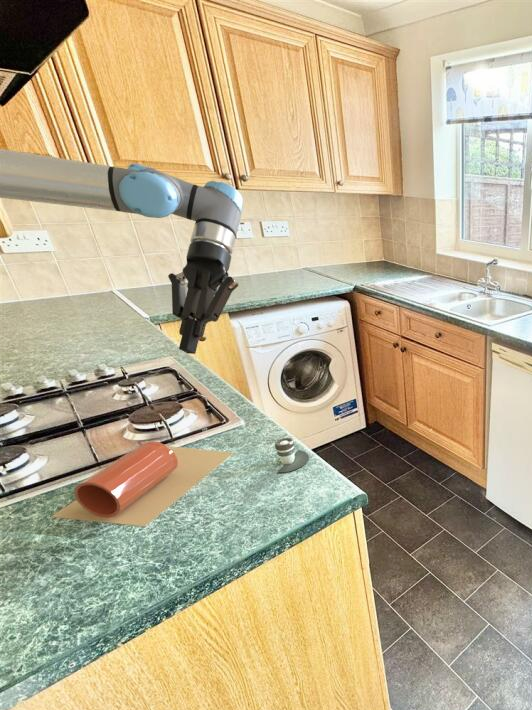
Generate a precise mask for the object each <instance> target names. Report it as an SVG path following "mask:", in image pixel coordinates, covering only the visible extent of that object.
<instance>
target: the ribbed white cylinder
mask: <svg viewBox="0 0 532 710" xmlns="http://www.w3.org/2000/svg"><path fill="white" fill-rule="evenodd" d="M274 449H275V450H276V453H277V455H278V457H279V458H278V459H279V460H280V462H281V464H283V465H282V467H281V468H280V469H278V470H277V472H276V473H278V474H285V473H290V472H294V471H296V470H299V469H300V468H302V467H303V466H305V465H306V464H307V463H308V462H309V459H310V455H309V454H308V453H307V452H306V451H304V450H300V449H298V450H297V451H295V442H294V440H293V439H292V438H291V437H283V438H280V439H278V440H276V441H275V443H274Z"/></svg>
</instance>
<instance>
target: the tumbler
mask: <svg viewBox="0 0 532 710" xmlns="http://www.w3.org/2000/svg"><path fill="white" fill-rule="evenodd" d="M167 446H168V445H166V444H164V443H162V442H159V441H154V440H150V441H145V442H143V443H141V444H139V445H138V446H136V447H134V448H132V449H131V450H130V451H128V452H126V453H125V454H124V455H122V456H121V457H119V458H117V459H116V460H114V461H113V462H111V463H110V464H108V465H106V466H105V467H103V468H102V469H100V470H98V471H97V472H95V473H94V474H92V475H91V476H89V477H87V478H86V479H84V480H83V481H81V482H80V483H78V484H77V485H76V487H75V488H74V497H75V500H77V501H78V503H79V504H80V505H81V506H82V507H83V508H84V509H86V510H87V511H89V512H90V513H92V514H95V515H97V516H100V517H113V516H116V515H117V514H119V513H120V512H121V511H122V510H124V509H125V508H126V507H128V506H129V505H130V504H132V503H133V502H134V501H135V500H137V499H138V498H139V497H141V496H142V495H143V494H145V493H146V492H147V491H149V490H150V489H151V488H152V487H154V486H155V485H156V484H158V483H159V482H160V481H162V480H163V479H164V478H165V477H167V476H168V475H169V474H171V473H172V472H173V471H174V470H175V469H176V468H177V466H178V460H177V457H176V455H175V454H174V452H173V451H172V450H171V449H170V448H169V447H167Z"/></svg>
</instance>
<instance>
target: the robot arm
mask: <svg viewBox="0 0 532 710" xmlns="http://www.w3.org/2000/svg"><path fill="white" fill-rule="evenodd" d="M0 199H9V200H16V201H24V202H25V201H26V202H32V203H33V202H35V203H42V204H43V203H44V204H51V205H59V206H60V205H61V206H69V207H78V208H85V209H94V210H95V209H96V210H102V211H103V210H104V211H112V212H121V213H127V214H134V215H135V214H136V215H140V216H143V217H146V218H153V219H163V218H166V217H169V216H170V215H174V216H177V217H180V218H184V219H186V220H190V221H193V222H195V223H194V225H193V229H192V233H191V237H190V243H189V245H188V248H187V254H186V264H185V266H184V267H183V268H182V272H179V273H177V274H175V273H174V272H172V273H169V274H168V275H167V277H168V280H169V281H170V283H171V308H172V312H171V313H172V315H173V316H175V317H176V318H178V319H179V320H181V321H180V327H179V331H178V333H179V335H180V336H181V337H180V338H181V339H180V342H179V346H178V350H180V351H182V352H184V353H186V354H188V355H191V354H192V355H194V354H195V355H196V352H197V348H198V344H199V340H200V338H203V337H204V334H205V331H206V326H207V324H209V323H210V322H213V323H215V322H217V321H218V320H219V318H220V316H221V314H222V312H223V310H224V309H225V307H226V305H227V303H228V301H229V298H230V297H231V295H232V293H233V292H234V290H236V289H237V288H238V287H239V285H240V284H239V282H238V281H236V279H234V278H233V277H232V276H229V275H230V274H229V273H228V272H229V270H230V265H231V261H232V255H233V252H234V248H235V243H236V237H237V234H238V229H239V225H240V221H241V218H242V211H243V205H244V204H243V203H244V200H243V196H242V194H241V193H240V192H239V191H238V190H237V189H236V188H235V187H234V186H232V185H231V184H228V183H227V182H224V181H216V180H210V181H206V183H205V184H204V186H202V185H197V184H195V183H191V182H189V181H186V180H183V179H180V178H179V177H175V176H173V175H170V174H169V173H168V174H167V173H165V172H162V171H159V170H157V169H156V168H153V167H150V166H146V165H142V164H139V163H136V162H133V163H130V164H129V165H128V167H127V168H123V167H118V166H110V165H107V164H106V165H105V164H99V163H93V162H88V161H87V162H86V161H79V160H73V159H67V158H60V157H54V156H48V155H42V154H35V153H30V152H23V151H17V150H11V149H4V148H0ZM186 281H187V282H186ZM186 288H187V292H186Z"/></svg>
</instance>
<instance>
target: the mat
mask: <svg viewBox="0 0 532 710" xmlns="http://www.w3.org/2000/svg"><path fill="white" fill-rule="evenodd" d="M166 446H167V447H169V448H170V449H171V450H172V451H173V452H174V454H175V455H176V457H177V460H178V466H177V468H176V469H175V470H174V471H173V472H172V473H171V474H169V475H168V476H167V477H165V478H164V479H163V480H162V481H160V482H159V483H158V484H156V485H155V486H154V487H152V488H151V489H150V490H149V491H147V492H146V493H145V494H143V495H142V496H141V497H139V498H138V499H137V500H135V501H134V502H133V503H132V504H130V505H129V506H128V507H126V508H125V509H124V510H122V511H121V512H120V513H119V514H117V515H116V516H113V517H100V516H97V515H95V514H92V513H90V512H89V511H87V510H86V509H84V508H83V507H82V506H81V505H80V504H79V503H78V501H77V499H75V500H74V501H72V502H71V503H69V504H68V505H66V506H65V507H63V508H61V509H60V510H58V511H57V512H56V513H54V514H53V515H51V516H50V518H58V519H68V520H76V521H85V522H86V521H87V522H96V523H97V522H98V523H104V524H106V523H107V524H114V525H115V524H116V525H123V526H125V525H126V526H134V527H146V526H148V525H149V524H150V523H152V521H154V520H155V519H156V518H157V517H159V516H160V515H161V514H162V513H163V512H165V511H166V510H167V509H168V508H170V507H171V506H172V505H173V504H174V503H176V502H177V501H178V500H179V499H180V498H181V497H183V496H184V495H185V494H187V492H189V491H190V490H191V489H192V488H193V487H195V486H196V485H197V484H198V483H200V481H202V480H203V479H204V478H206V477H207V476H208V475H210V473H211V472H213V471H214V470H215V469H217V468H218V467H219V466H220V465H221V464H222V463H223V462H225V461H226V460H227V459H229V458H230V457H231V456H232V455H234V454H235V452H233V451H222V450H211V449H201V448H190V447H181V446H170V445H169V446H168V445H166Z"/></svg>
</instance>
